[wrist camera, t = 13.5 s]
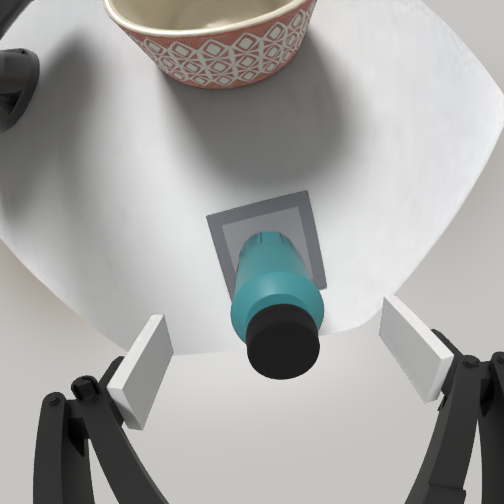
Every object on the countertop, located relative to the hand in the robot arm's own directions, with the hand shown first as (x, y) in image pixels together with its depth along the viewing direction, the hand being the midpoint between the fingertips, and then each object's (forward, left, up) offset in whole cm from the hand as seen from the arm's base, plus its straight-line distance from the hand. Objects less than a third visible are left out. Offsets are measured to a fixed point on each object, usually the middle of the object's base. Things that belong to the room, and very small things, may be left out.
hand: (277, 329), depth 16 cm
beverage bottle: (0, 0, -18) cm, 18 cm away
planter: (-3, +29, -19) cm, 34 cm away
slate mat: (0, 0, -18) cm, 18 cm away
